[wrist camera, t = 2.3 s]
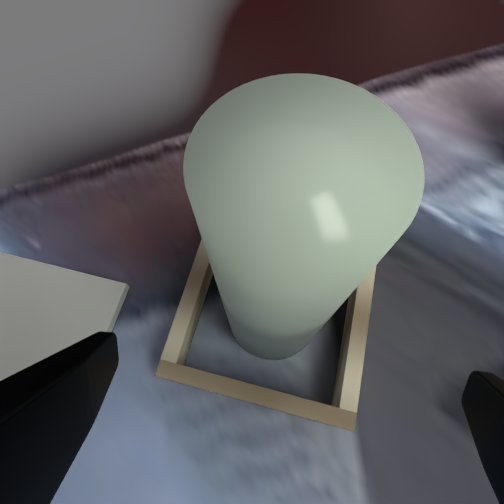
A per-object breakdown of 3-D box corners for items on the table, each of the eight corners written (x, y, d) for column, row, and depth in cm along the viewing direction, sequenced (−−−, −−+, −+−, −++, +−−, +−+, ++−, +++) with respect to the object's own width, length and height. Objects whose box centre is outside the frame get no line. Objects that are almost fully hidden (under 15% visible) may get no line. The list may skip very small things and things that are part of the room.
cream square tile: (60, 456, 18) (54, 458, 17) (-98, 406, 19) (-109, 407, 18) (129, 286, 21) (126, 283, 21) (-8, 252, 22) (-14, 248, 22)
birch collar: (343, 428, 18) (354, 431, 16) (164, 378, 19) (154, 375, 17) (368, 257, 22) (378, 243, 20) (216, 222, 23) (212, 206, 21)
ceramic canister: (307, 370, 19) (414, 302, 6) (218, 346, 20) (148, 238, 7) (324, 283, 21) (432, 94, 8) (241, 264, 22) (221, 58, 9)
